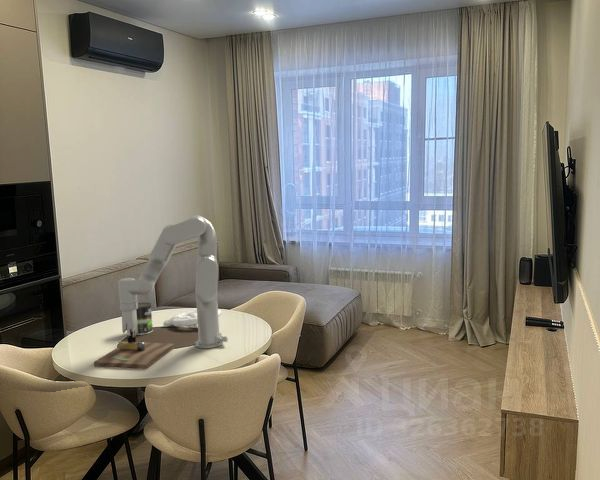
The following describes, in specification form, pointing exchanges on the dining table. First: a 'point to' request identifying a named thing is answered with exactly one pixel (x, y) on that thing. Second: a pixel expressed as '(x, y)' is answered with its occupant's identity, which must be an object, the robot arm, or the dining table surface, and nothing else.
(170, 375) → the dining table surface
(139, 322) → the coffee can
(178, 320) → the pretzel
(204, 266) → the robot arm
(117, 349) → the tuner board
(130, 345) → the peg
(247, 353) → the dining table surface
